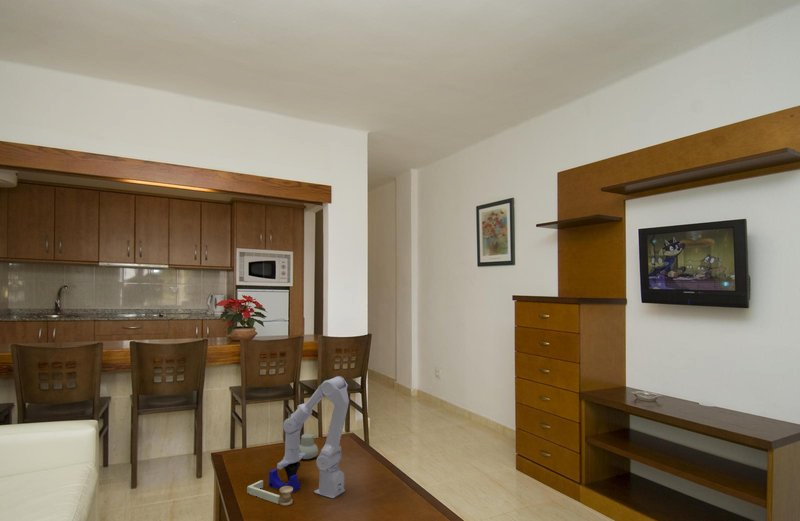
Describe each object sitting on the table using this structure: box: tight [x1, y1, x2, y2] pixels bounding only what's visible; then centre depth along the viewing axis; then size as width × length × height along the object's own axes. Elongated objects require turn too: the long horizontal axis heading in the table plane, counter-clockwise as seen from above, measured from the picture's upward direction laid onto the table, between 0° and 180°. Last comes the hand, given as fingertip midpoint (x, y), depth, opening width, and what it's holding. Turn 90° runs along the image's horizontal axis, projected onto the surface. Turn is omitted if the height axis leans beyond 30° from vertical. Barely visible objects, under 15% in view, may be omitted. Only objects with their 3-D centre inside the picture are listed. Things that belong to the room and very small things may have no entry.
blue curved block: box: [268, 468, 301, 494], centre depth 183 cm, size 12×4×6 cm, turn 63°
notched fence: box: [246, 479, 282, 505], centre depth 176 cm, size 16×7×2 cm, turn 60°
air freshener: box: [299, 433, 319, 460], centre depth 216 cm, size 11×8×10 cm
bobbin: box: [278, 486, 293, 507], centre depth 171 cm, size 5×5×5 cm
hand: (291, 481), depth 186 cm, fingers closed
